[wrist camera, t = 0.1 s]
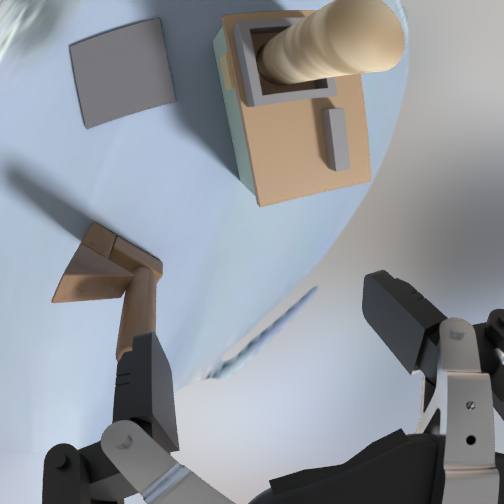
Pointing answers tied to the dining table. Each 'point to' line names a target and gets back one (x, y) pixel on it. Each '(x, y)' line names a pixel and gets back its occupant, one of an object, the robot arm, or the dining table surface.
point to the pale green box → (288, 117)
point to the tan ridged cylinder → (334, 43)
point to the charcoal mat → (122, 72)
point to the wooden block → (114, 281)
